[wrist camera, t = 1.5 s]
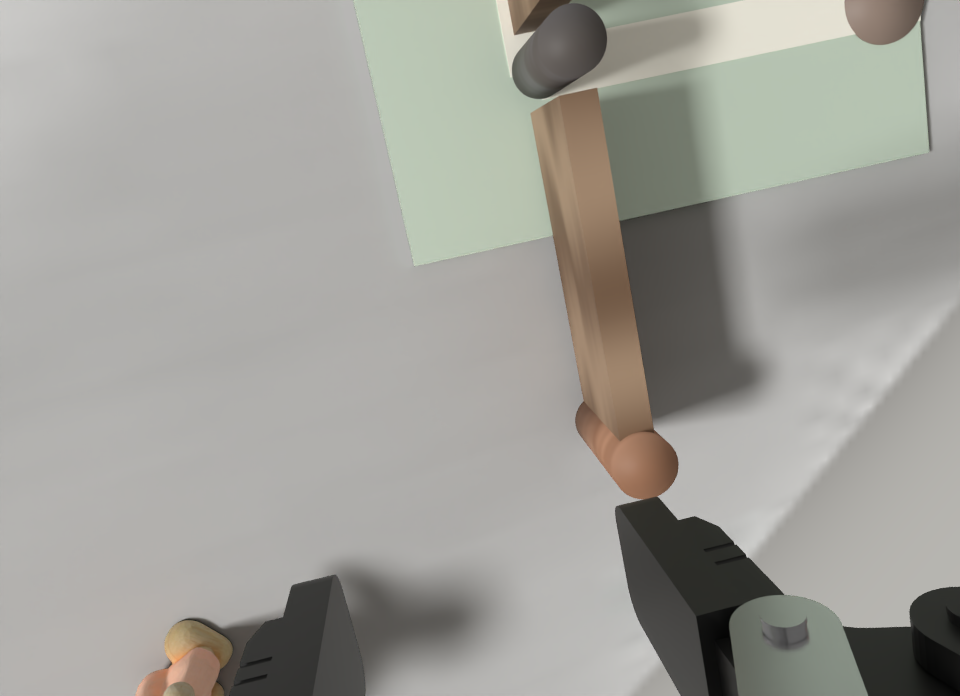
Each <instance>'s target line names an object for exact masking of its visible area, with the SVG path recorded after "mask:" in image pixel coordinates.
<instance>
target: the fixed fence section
mask: <svg viewBox="0 0 960 696" xmlns="http://www.w3.org/2000/svg"><path fill="white" fill-rule="evenodd" d="M570 1H571V0H508V6H509V11H510V17H511V22H512V27H513V33H514V35H518V34H523V33H528V32H533V31H536V30H537V28H538V27H539V26H540V25H541V24H542V23H543V21H544V20H545V19H546V18H547V17H548V15H549V14H550V13H551V12H552V11H554V10H555V9H556V8H558V7H560V6H562V5H565V4H569V3H570Z"/></svg>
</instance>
